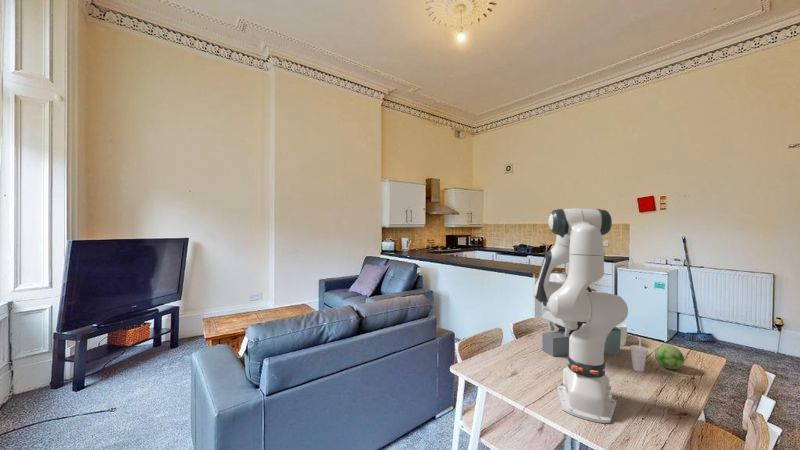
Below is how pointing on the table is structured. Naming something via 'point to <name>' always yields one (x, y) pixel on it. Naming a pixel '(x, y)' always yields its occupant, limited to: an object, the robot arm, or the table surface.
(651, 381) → the table surface
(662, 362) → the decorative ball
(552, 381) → the table surface
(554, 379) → the table surface
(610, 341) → the drinking glass
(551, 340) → the gray rectangular block
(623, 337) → the white cup
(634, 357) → the smoothie
